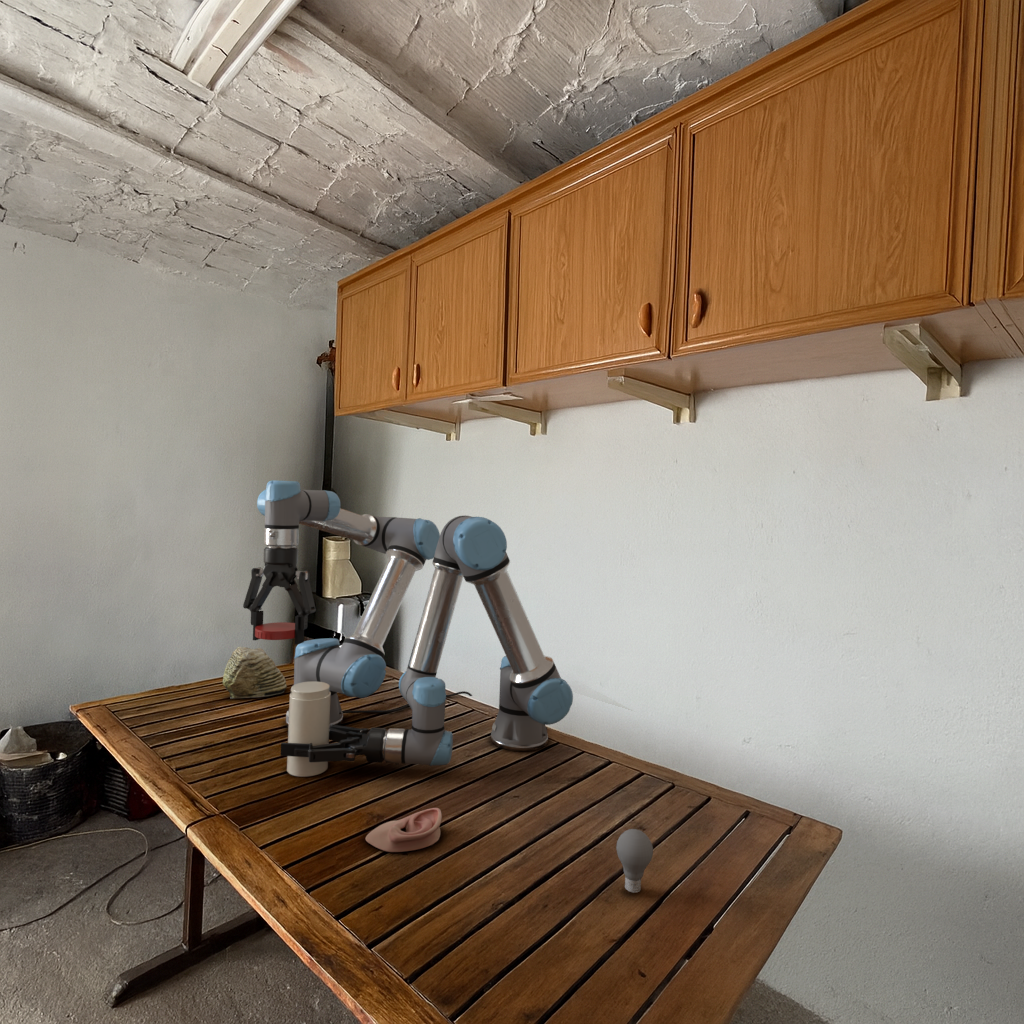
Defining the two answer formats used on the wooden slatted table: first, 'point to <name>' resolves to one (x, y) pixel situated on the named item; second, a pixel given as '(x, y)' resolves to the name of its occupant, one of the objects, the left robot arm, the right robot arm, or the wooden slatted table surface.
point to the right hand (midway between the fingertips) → (289, 740)
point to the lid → (275, 631)
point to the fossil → (252, 674)
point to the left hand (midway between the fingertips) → (278, 641)
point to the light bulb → (634, 857)
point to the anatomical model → (408, 832)
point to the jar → (308, 724)
